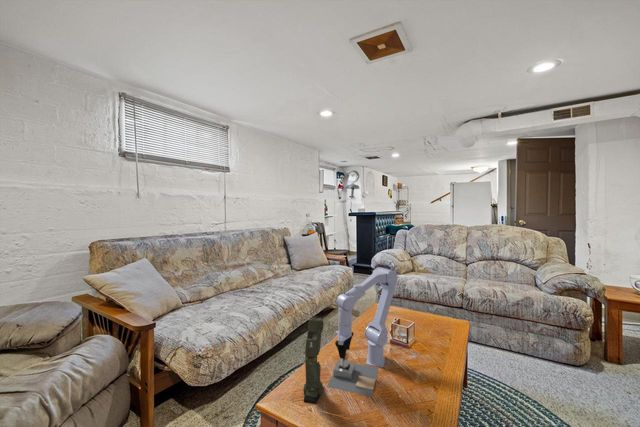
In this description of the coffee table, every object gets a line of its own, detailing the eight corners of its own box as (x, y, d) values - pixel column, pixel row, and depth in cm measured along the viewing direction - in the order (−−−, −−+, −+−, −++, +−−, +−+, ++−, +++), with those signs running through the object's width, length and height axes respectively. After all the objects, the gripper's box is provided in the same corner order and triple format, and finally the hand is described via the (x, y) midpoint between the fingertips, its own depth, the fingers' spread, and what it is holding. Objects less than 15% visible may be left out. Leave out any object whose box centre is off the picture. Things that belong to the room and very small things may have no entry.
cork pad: (359, 376, 117) (359, 375, 117) (375, 380, 114) (375, 378, 114) (355, 386, 110) (355, 385, 110) (373, 390, 108) (373, 389, 108)
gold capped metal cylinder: (341, 370, 121) (341, 352, 121) (349, 371, 120) (349, 353, 120) (339, 374, 118) (339, 356, 118) (347, 376, 117) (347, 357, 117)
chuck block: (338, 366, 124) (338, 359, 124) (355, 369, 122) (355, 363, 122) (333, 376, 117) (333, 369, 117) (351, 380, 114) (351, 373, 114)
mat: (339, 361, 129) (339, 360, 129) (378, 368, 123) (378, 367, 123) (327, 387, 110) (327, 386, 110) (371, 397, 104) (371, 396, 104)
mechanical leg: (317, 410, 97) (321, 320, 103) (297, 407, 98) (303, 318, 104) (324, 394, 110) (327, 315, 116) (306, 391, 111) (311, 314, 118)
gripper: (340, 315, 127) (340, 344, 127) (331, 328, 113) (330, 360, 114) (355, 317, 125) (354, 346, 125) (347, 330, 111) (347, 363, 111)
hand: (344, 353), depth 119 cm, fingers open, 7 cm apart
